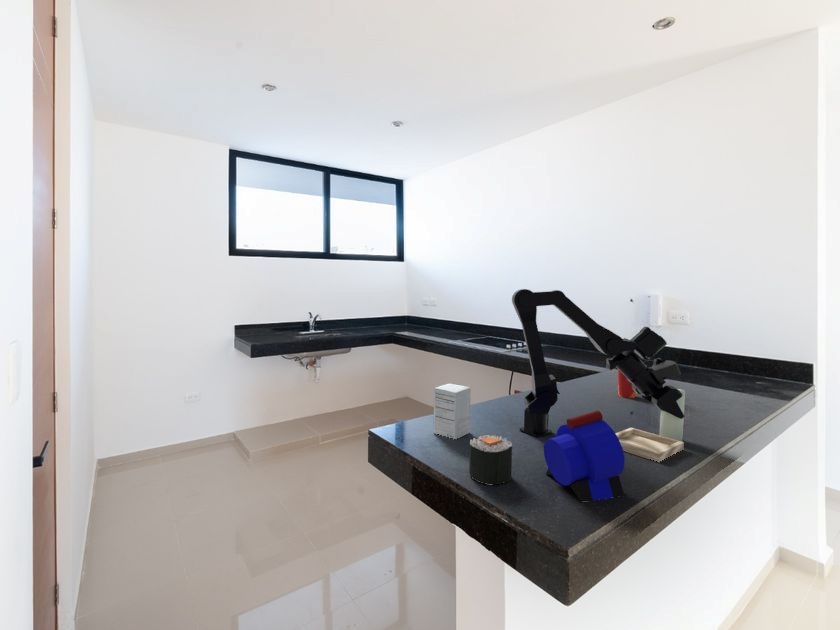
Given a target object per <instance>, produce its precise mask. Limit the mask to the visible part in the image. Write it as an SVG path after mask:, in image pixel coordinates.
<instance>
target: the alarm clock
mask: <svg viewBox="0 0 840 630" xmlns="http://www.w3.org/2000/svg"><path fill="white" fill-rule="evenodd" d="M603 419H604V418H603V414H602V412H601V411H600V410H595V411H591V412H588V413H584V414H581V415H577V416H574V417H571V418H567V419H566V424H562V425H560V426H559V427H558V429H557V431H556V434H555V435H556V436H554V437H550V438H549V439H546V440H545V441H544V444H543V455H544V460H545V462H546V466H547V467H548V469H547V470H546V473H545V475H546V474H547V475H548V476H549V475H551V476H552V477H553V479H555V481H557V483H559V484H560V485H562V486H570V487H569V488H571V490H572V491H573V492H574V494H575V496H576V497H577V498H578V500H579V501H580V500H581V501H592V502H594V501H593V500H599V499H605V498H611V497H618V496H624V497H625V491H624V488H623V486H622V483H621V479H620V476H619V475H621V474H623V472H624V468H625V455H624V451H623V448H622V446H621V443H620V441H619V439H618V437H617V435H616V434H615V433H616V432H615V431H614V429H613V428H612V427H611V426H610V425H609V424H608V423H607V422H606V421H605V420H603ZM547 475H546V476H547ZM618 498H619V497H618ZM611 499H612V498H611ZM605 500H606V499H605ZM581 501H580V502H581ZM599 501H600V500H599Z"/></svg>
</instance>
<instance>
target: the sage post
mask: <svg viewBox="0 0 840 630" xmlns="http://www.w3.org/2000/svg"><path fill="white" fill-rule="evenodd" d="M677 389H678V390H679V391H680V392H681V393H682V394H683V395H682V397H681V398H680V399H678V400H677V403H678V405H679V407H680V409H681V411H682V412H683V414H684V415H685V400H686V390H685V389H680V388H677ZM684 420H685V417H684V418H682V419H680V418H678V417H676V416H674V415H672V414H669V413H667V412H665V411H662V410H660V417H659V434H658V435H660V436H664V437H667V438H671V439H674V440H678V441H682V442H683V437H684V436H683V434H684V431H683V430H684V422H685V421H684Z"/></svg>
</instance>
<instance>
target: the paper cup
mask: <svg viewBox="0 0 840 630" xmlns="http://www.w3.org/2000/svg"><path fill="white" fill-rule="evenodd" d="M617 392H618V397H620V398H624V399H625V398H626V399H635V398H636V394H637V393H636V392H635V391H634V390H633V389H632V383H631V382H629V381H628V380H627V378H626V377H625V376H624V375H623V373H622V372H621V371H620V370H619V369H618V368H617Z"/></svg>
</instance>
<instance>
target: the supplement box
mask: <svg viewBox="0 0 840 630" xmlns="http://www.w3.org/2000/svg"><path fill="white" fill-rule="evenodd" d="M471 388H472V387H470V386H466V385H460V384H454V383H446V384H442V385H440V386H436V387H434V388H433V434H434V433H436V434H435V435H437V434H439V435H438V436H440V435H442V436H441V437H443V436H446V437H445V438H447V437H449V438H448V439H450V438H453V439H452V440H454V439H456V440H458V439H460V438H461V437H463V436H465V435H468V434H470V433H471V391H472V390H471ZM457 438H458V439H457Z"/></svg>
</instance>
